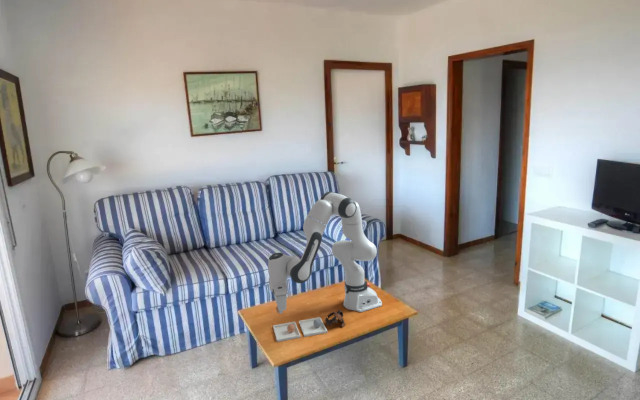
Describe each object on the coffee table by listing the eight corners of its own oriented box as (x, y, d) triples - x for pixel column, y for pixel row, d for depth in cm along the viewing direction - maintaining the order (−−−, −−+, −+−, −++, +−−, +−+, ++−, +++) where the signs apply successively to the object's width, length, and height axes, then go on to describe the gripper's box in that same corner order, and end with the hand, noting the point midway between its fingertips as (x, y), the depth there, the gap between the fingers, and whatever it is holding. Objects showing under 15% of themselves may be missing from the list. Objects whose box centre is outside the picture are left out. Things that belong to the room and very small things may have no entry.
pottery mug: (342, 332, 199) (334, 320, 198) (329, 335, 205) (320, 323, 203) (350, 316, 209) (342, 304, 207) (337, 319, 214) (329, 308, 213)
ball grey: (320, 324, 206) (319, 317, 205) (322, 328, 202) (321, 321, 201) (312, 325, 205) (312, 318, 204) (314, 329, 201) (314, 322, 200)
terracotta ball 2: (294, 328, 203) (293, 321, 202) (295, 332, 199) (295, 325, 198) (286, 330, 202) (286, 323, 201) (288, 334, 198) (287, 327, 197)
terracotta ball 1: (283, 310, 199) (282, 303, 198) (284, 313, 195) (284, 306, 194) (275, 311, 198) (275, 304, 197) (276, 315, 194) (276, 307, 193)
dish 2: (320, 320, 211) (320, 317, 211) (327, 333, 198) (327, 330, 198) (298, 323, 208) (298, 320, 208) (304, 337, 195) (304, 334, 195)
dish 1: (295, 324, 208) (295, 321, 207) (300, 338, 195) (300, 335, 194) (273, 328, 205) (272, 325, 205) (277, 343, 192) (276, 339, 191)
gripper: (269, 277, 202) (271, 302, 205) (275, 294, 183) (276, 321, 186) (281, 276, 204) (282, 300, 207) (288, 292, 184) (289, 318, 187)
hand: (280, 310), depth 196 cm, fingers closed on terracotta ball 1, 4 cm apart
